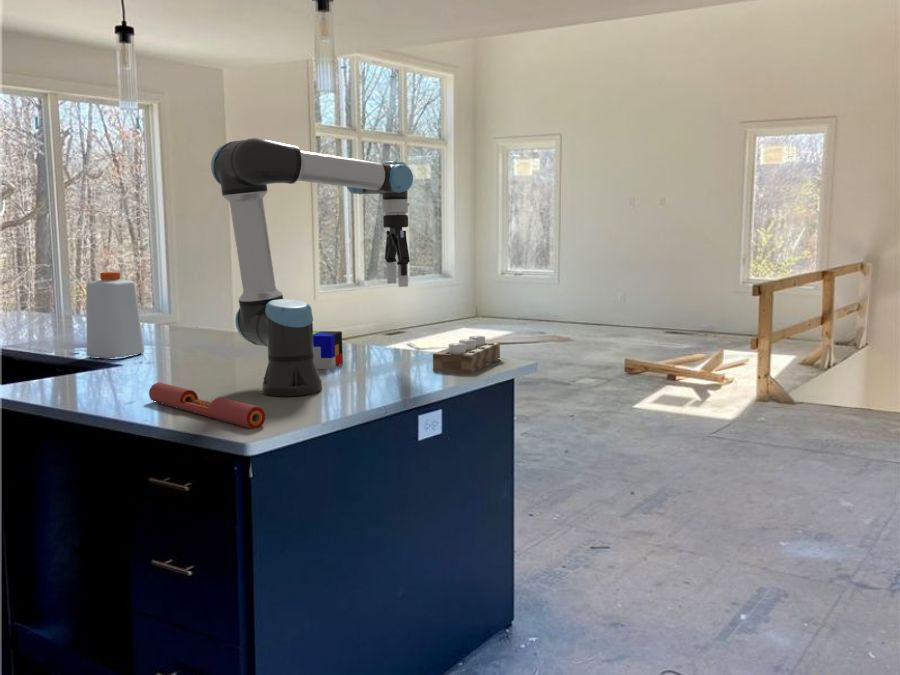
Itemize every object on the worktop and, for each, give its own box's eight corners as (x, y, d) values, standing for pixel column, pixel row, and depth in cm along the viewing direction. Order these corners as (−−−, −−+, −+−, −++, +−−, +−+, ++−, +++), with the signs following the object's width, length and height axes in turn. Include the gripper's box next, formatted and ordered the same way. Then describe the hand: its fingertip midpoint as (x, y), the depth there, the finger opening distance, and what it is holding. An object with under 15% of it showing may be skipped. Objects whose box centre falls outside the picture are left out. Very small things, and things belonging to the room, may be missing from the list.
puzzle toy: (331, 369, 244) (330, 336, 243) (300, 368, 246) (299, 335, 245) (342, 363, 254) (341, 331, 253) (312, 362, 256) (311, 331, 255)
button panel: (471, 373, 234) (471, 353, 233) (433, 370, 239) (432, 351, 238) (499, 359, 256) (499, 341, 255) (464, 357, 261) (464, 340, 260)
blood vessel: (149, 403, 202) (147, 384, 201) (168, 400, 206) (166, 380, 205) (246, 431, 174) (245, 408, 173) (266, 427, 178) (265, 404, 177)
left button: (461, 360, 236) (461, 346, 236) (446, 359, 238) (445, 345, 238) (468, 357, 241) (468, 343, 240) (452, 357, 243) (452, 342, 242)
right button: (481, 352, 251) (481, 338, 250) (466, 351, 253) (466, 337, 252) (487, 349, 255) (487, 336, 255) (472, 348, 257) (472, 335, 257)
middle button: (472, 356, 244) (472, 342, 243) (456, 355, 246) (456, 341, 245) (478, 353, 248) (478, 339, 248) (463, 352, 250) (462, 338, 249)
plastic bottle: (81, 358, 269) (74, 273, 265) (114, 351, 283) (108, 270, 279) (117, 360, 264) (111, 274, 260) (150, 353, 278) (144, 271, 274)
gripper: (419, 213, 235) (420, 287, 238) (397, 214, 258) (398, 281, 261) (393, 214, 232) (395, 288, 235) (373, 214, 256) (375, 282, 259)
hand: (397, 285), depth 248 cm, fingers open, 13 cm apart
